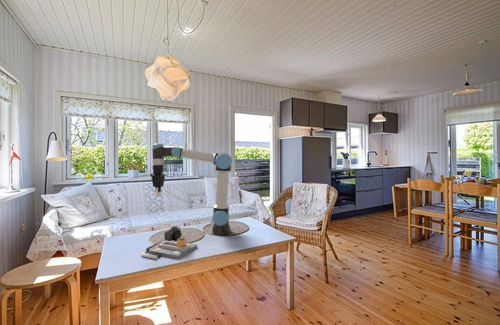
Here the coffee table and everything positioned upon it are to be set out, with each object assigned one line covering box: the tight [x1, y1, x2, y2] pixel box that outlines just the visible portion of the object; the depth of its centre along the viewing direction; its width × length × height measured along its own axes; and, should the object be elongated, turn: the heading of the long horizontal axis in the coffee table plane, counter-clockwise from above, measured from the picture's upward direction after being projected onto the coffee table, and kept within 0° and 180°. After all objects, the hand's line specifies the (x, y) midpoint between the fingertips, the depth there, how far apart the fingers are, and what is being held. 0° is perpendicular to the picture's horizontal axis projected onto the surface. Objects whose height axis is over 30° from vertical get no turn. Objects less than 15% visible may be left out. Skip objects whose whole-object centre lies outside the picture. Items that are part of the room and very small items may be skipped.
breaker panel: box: [149, 240, 198, 260], centre depth 158 cm, size 20×22×4 cm
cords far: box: [140, 251, 162, 260], centre depth 148 cm, size 12×5×2 cm, turn 69°
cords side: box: [145, 241, 163, 252], centre depth 162 cm, size 14×5×2 cm, turn 159°
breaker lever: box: [176, 236, 187, 248], centre depth 156 cm, size 4×4×7 cm
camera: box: [164, 225, 183, 241], centre depth 178 cm, size 13×10×10 cm
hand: (158, 196), depth 178 cm, fingers closed
